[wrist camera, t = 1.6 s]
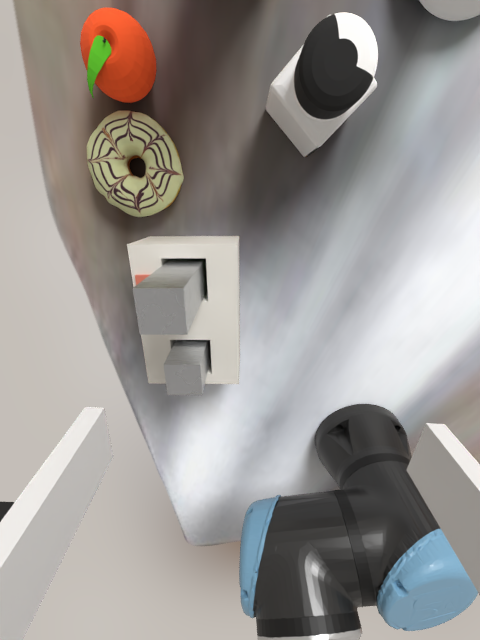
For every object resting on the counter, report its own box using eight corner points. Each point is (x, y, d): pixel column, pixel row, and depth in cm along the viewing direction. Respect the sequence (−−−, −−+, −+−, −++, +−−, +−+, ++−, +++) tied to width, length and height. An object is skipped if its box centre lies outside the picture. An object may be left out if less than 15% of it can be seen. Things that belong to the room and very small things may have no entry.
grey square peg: (214, 342, 44) (202, 395, 32) (188, 342, 44) (167, 395, 32) (213, 318, 43) (200, 364, 31) (186, 318, 43) (163, 364, 31)
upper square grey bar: (210, 280, 40) (187, 334, 24) (182, 280, 40) (139, 334, 24) (209, 251, 38) (183, 288, 22) (180, 251, 38) (132, 288, 22)
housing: (239, 235, 38) (237, 244, 30) (240, 354, 45) (238, 385, 37) (149, 236, 38) (125, 245, 30) (164, 353, 45) (147, 385, 37)
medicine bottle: (304, 159, 34) (332, 138, 23) (264, 108, 32) (273, 60, 21) (352, 108, 32) (408, 59, 21) (312, 51, 30) (351, -35, 19)
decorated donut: (145, 232, 38) (134, 235, 35) (81, 162, 35) (63, 157, 32) (202, 176, 35) (197, 174, 32) (138, 95, 32) (125, 83, 29)
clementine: (138, 134, 34) (111, 117, 27) (85, 88, 32) (44, 58, 25) (176, 68, 31) (158, 32, 25) (121, 14, 30) (86, -39, 23)
